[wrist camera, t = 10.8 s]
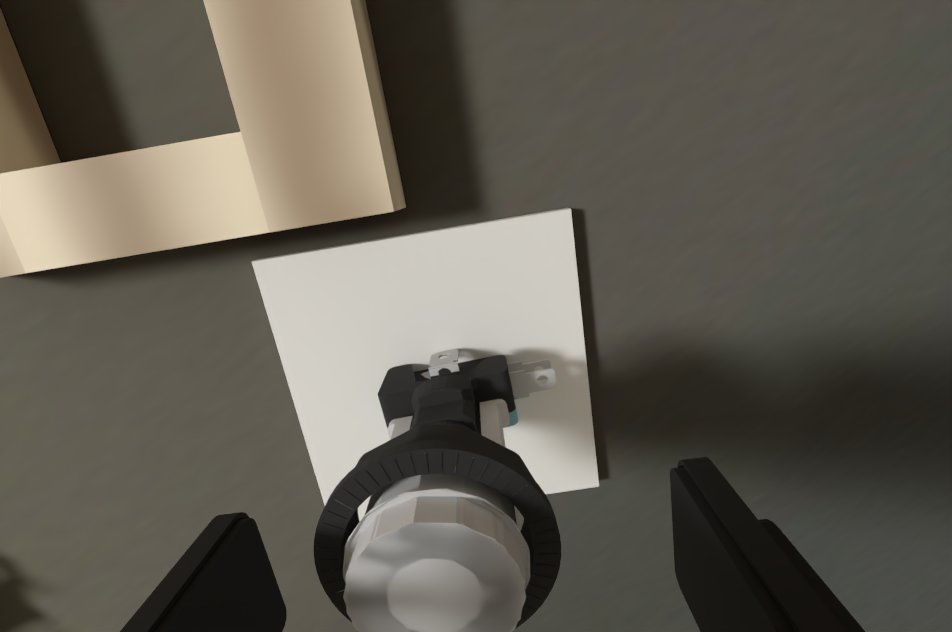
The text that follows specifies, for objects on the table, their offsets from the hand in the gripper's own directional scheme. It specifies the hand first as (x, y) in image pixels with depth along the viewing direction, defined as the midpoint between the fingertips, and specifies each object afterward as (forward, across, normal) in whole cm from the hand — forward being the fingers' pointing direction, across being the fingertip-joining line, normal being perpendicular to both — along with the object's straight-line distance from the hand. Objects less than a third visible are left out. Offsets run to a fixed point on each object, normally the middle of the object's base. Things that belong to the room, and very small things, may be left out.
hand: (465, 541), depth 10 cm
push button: (+9, 0, 0) cm, 9 cm away
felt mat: (+9, +2, 0) cm, 9 cm away
